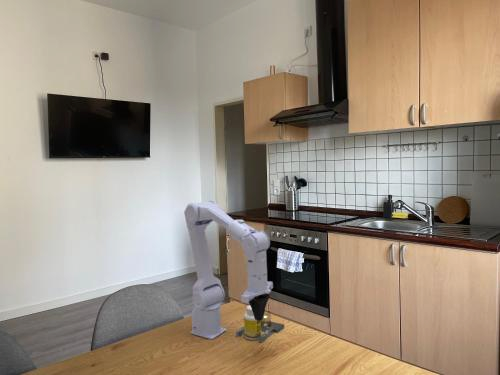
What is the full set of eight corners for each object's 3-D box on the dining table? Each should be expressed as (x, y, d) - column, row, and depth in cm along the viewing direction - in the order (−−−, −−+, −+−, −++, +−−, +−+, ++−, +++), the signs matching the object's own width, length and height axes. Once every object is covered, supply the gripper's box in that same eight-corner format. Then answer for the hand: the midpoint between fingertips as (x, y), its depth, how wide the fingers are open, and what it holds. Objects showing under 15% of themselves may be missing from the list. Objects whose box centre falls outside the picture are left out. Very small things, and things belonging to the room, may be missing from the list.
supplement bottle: (259, 341, 116) (259, 311, 115) (242, 339, 117) (242, 309, 117) (262, 333, 121) (262, 304, 121) (246, 331, 123) (246, 303, 122)
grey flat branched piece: (232, 335, 121) (232, 323, 120) (254, 320, 132) (254, 309, 132) (264, 344, 114) (263, 331, 114) (284, 327, 125) (284, 315, 125)
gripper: (255, 282, 99) (257, 331, 99) (281, 269, 111) (282, 313, 111) (234, 279, 102) (236, 326, 103) (261, 266, 115) (262, 308, 115)
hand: (258, 319), depth 108 cm, fingers closed
